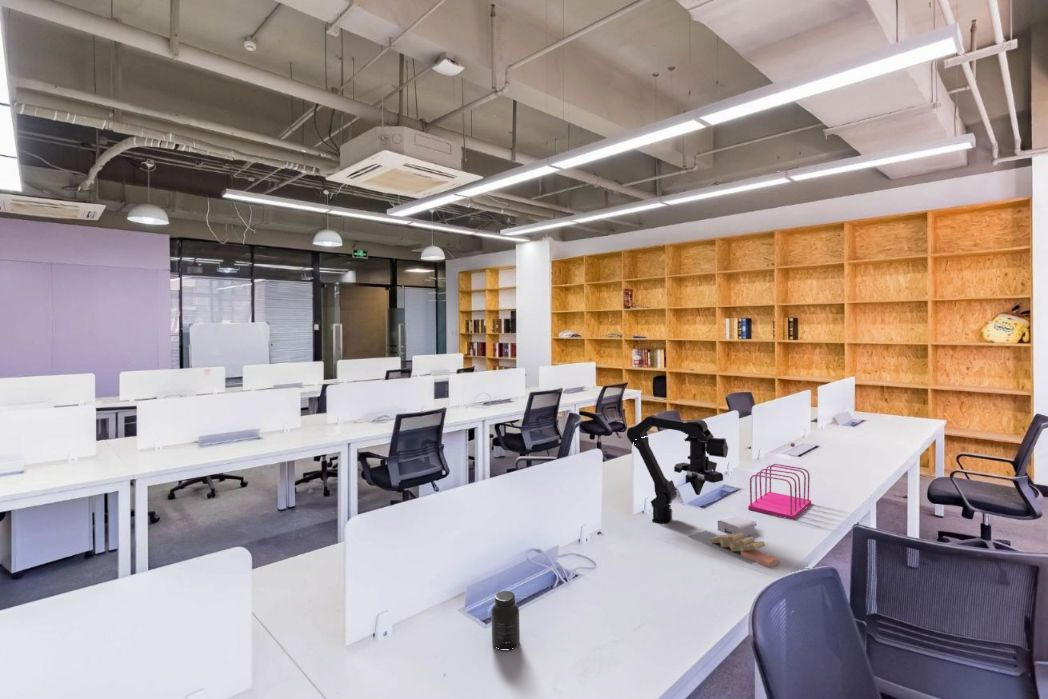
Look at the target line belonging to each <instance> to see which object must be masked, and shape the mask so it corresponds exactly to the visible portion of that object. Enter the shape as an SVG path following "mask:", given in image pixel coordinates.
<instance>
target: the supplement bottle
mask: <svg viewBox="0 0 1048 699" xmlns="http://www.w3.org/2000/svg"><path fill="white" fill-rule="evenodd" d="M494 596H495V597H494V605H493V606H492V608H491V611H490V613H491V643H492V646H493V645H494V646H495V647H497V648H499V649H512V648H514V649H516V648H517V647H518V646H519V644H520V641H521V640H520V639H521V638H520V635H521V632H520V609H519V606H518V605H517V603H516V597H515V596H516V595H515V593H514V592H512V591H509V590H502V591H499V592H497V593H496V594H495V595H494ZM517 645H518V646H517ZM494 646H493V647H494ZM516 646H517V647H516ZM495 647H494V648H495ZM515 647H516V648H515ZM512 650H513V649H512Z"/></svg>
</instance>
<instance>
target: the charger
mask: <svg viewBox="0 0 1048 699" xmlns="http://www.w3.org/2000/svg"><path fill="white" fill-rule="evenodd" d="M755 527H757V521H755V520H752V519H749V518H743V517H740V516H738V515H732V516H728V517H726V518H723V519H721V520H720V519H719V520H718V521H717V531H720V532H723V533H725V534H726V535H729V534H738V533H742V534H743V537H744V538H745V537H747V536H750V535H753V534H754V533H755Z"/></svg>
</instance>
